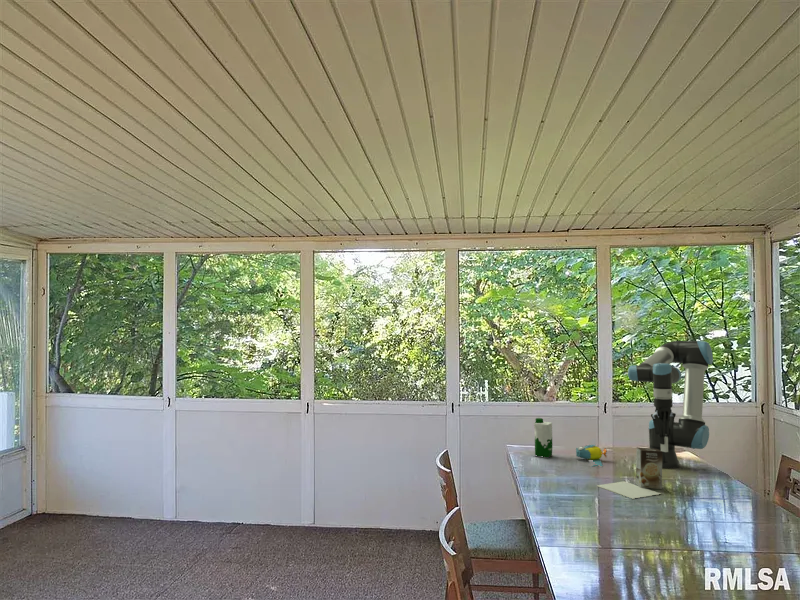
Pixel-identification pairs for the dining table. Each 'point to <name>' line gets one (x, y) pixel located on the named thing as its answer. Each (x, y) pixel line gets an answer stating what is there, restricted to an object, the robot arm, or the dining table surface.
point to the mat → (628, 489)
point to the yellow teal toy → (591, 453)
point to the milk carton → (543, 438)
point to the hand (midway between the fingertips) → (664, 451)
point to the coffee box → (649, 468)
